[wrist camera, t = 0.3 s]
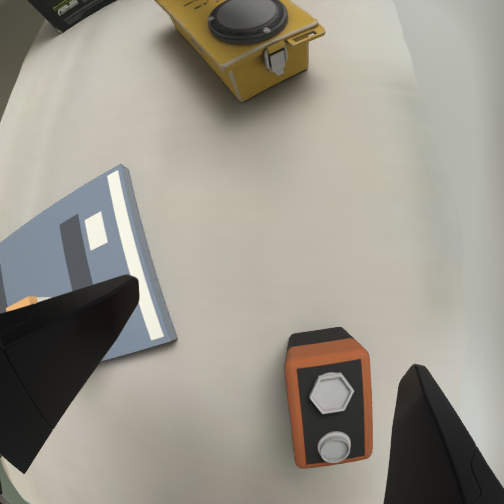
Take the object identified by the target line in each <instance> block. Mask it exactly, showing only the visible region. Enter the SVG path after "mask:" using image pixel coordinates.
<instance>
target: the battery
mask: <svg viewBox="0 0 504 504" xmlns="http://www.w3.org/2000/svg"><path fill="white" fill-rule="evenodd" d="M285 379H286V387H287V396H288V404H289V413H290V422H291V431H292V440H293V449H294V457H295V463H296V465H297V466H298V467H299V468H314V467H322V466H329V465H336V464H342V463H348V462H354V461H359V460H364V459H367V458H369V457H370V456H371V454H372V448H373V422H372V390H371V371H370V358H369V353H368V352H367V350H366V349H365V348H363V347H362V346H361V345H360V344H359V343H358V342H357V341H356V340H355V339H354V338H353V337H352V336H351V335H350V334H349V333H348V332H347V331H346V330H344V329H343V328H342V327H335V328H329V329H322V330H315V331H308V332H301V333H295V334H292V335H291V336H290V338H289V343H288V349H287V355H286V361H285Z"/></svg>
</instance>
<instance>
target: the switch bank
mask: <svg viewBox="0 0 504 504" xmlns="http://www.w3.org/2000/svg"><path fill="white" fill-rule="evenodd" d="M125 274H129V275H132V276H134V277H137V278H138V280H139V293H140V299H139V303H138V305H137V307H136V308H135V310H134V312H133V313H132V315H131V317H130V318H129V320H128V322H127V323H126V325H125V327H124V329H123V330H122V332H121V334H120V335H119V337H118V338H117V340H116V341H115V343H114V344H113V345H112V347H111V348H110V349H109V351H108V352H107V354H106V355H105V356H104V358H103V359H102V360H101V361H104V360H108V359H111V358H115V357H119V356H122V355H126V354H129V353H133V352H136V351H140V350H143V349H146V348H150V347H153V346H156V345H160V344H163V343H166V342H170V341H172V340H175V339H177V335H176V332H175V329H174V327H173V324H172V321H171V318H170V315H169V312H168V309H167V306H166V303H165V300H164V297H163V294H162V291H161V288H160V285H159V282H158V278H157V275H156V272H155V268H154V265H153V262H152V258H151V255H150V252H149V248H148V245H147V241H146V237H145V234H144V230H143V226H142V223H141V219H140V215H139V211H138V207H137V203H136V199H135V195H134V191H133V186H132V182H131V178H130V173H129V169H127V168H126V167H125V166H123V165H122V164H120V165H118V166H116V167H114V168H112V169H111V170H109V171H107V172H105V173H104V174H102V175H100V176H98V177H97V178H95V179H93V180H92V181H90V182H88V183H87V184H85V185H83V186H82V187H80V188H78V189H77V190H75V191H74V192H72V193H70V194H69V195H67V196H66V197H64V198H63V199H61V200H59V201H58V202H56V203H55V204H53V205H52V206H50V207H49V208H47V209H46V210H44V211H43V212H42V213H40V214H39V215H37V216H36V217H34V218H33V219H32V220H30V221H29V222H27V223H26V224H25V225H23V226H22V227H20V228H19V229H18V230H16V231H15V232H14V233H12V234H11V235H10V236H8V237H7V238H6V239H5V240H3V241H2V242H1V243H0V313H3V312H6V308H7V307H9V306H11V305H13V304H15V303H17V302H19V301H20V300H22V299H24V298H26V297H28V296H36V297H55V296H58V295H61V294H65V293H68V292H71V291H74V290H77V289H80V288H83V287H87V286H90V285H93V284H96V283H99V282H102V281H106V280H109V279H112V278H115V277H118V276H122V275H125Z"/></svg>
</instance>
